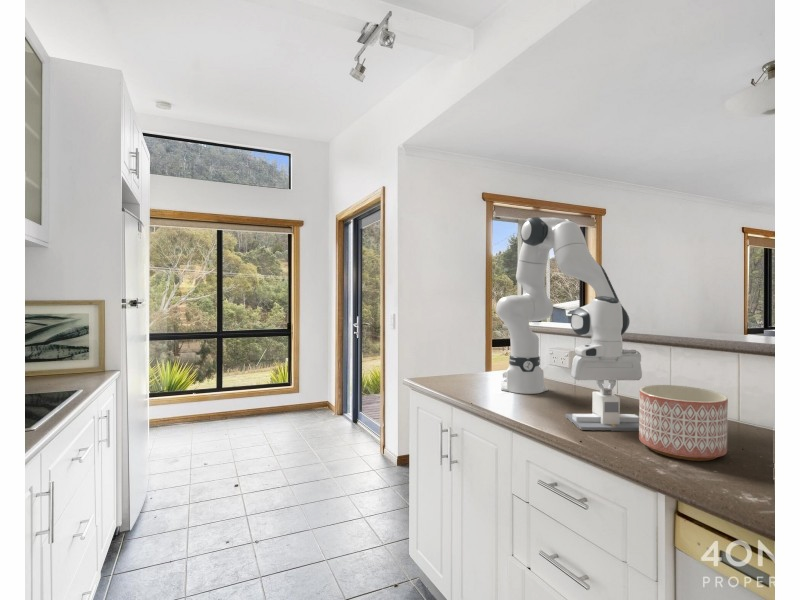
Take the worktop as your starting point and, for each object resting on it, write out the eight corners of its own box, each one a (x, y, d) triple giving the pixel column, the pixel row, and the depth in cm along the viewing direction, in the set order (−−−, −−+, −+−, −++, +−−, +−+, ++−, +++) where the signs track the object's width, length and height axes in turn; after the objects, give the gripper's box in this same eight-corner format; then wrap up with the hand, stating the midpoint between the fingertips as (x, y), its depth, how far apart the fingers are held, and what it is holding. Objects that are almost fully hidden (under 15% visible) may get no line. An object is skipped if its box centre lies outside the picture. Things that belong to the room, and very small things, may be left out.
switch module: (592, 416, 142) (592, 391, 142) (608, 416, 142) (608, 391, 142) (602, 424, 134) (603, 397, 134) (619, 424, 134) (620, 397, 134)
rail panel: (565, 416, 146) (565, 409, 146) (627, 417, 145) (628, 409, 145) (581, 430, 132) (581, 422, 132) (650, 431, 131) (650, 422, 131)
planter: (650, 432, 130) (651, 381, 129) (732, 449, 116) (733, 392, 116) (628, 450, 116) (629, 393, 115) (719, 470, 102) (720, 406, 102)
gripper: (635, 348, 141) (635, 392, 141) (569, 348, 141) (569, 391, 142) (646, 351, 134) (645, 397, 135) (576, 350, 135) (576, 396, 135)
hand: (606, 394), depth 138 cm, fingers closed, pressing on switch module
